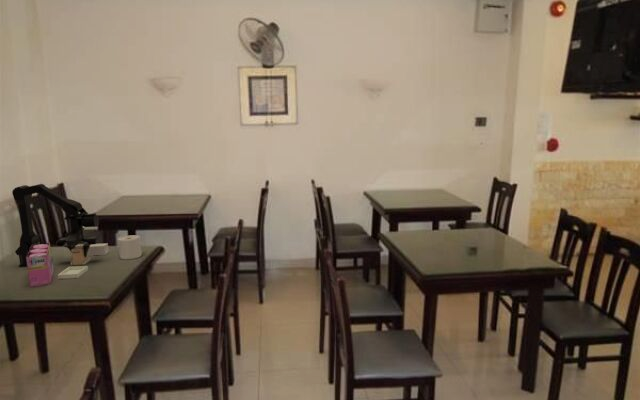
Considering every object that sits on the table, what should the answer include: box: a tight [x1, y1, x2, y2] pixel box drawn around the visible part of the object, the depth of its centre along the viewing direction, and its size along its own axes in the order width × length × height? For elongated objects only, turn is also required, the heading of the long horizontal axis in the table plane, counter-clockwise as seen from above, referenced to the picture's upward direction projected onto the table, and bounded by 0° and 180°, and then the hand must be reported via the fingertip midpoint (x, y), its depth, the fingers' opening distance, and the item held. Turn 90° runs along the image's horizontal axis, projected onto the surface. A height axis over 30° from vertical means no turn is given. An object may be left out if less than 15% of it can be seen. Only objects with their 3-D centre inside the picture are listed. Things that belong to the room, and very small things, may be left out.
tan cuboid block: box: [71, 244, 89, 266], centre depth 231 cm, size 4×8×8 cm, turn 5°
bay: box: [70, 242, 110, 266], centre depth 238 cm, size 16×20×5 cm
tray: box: [57, 265, 89, 280], centre depth 215 cm, size 9×11×2 cm
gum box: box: [26, 241, 55, 288], centre depth 211 cm, size 24×8×14 cm, turn 26°
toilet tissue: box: [117, 234, 143, 260], centre depth 239 cm, size 11×12×10 cm
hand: (80, 257), depth 232 cm, fingers closed on tan cuboid block, 4 cm apart
